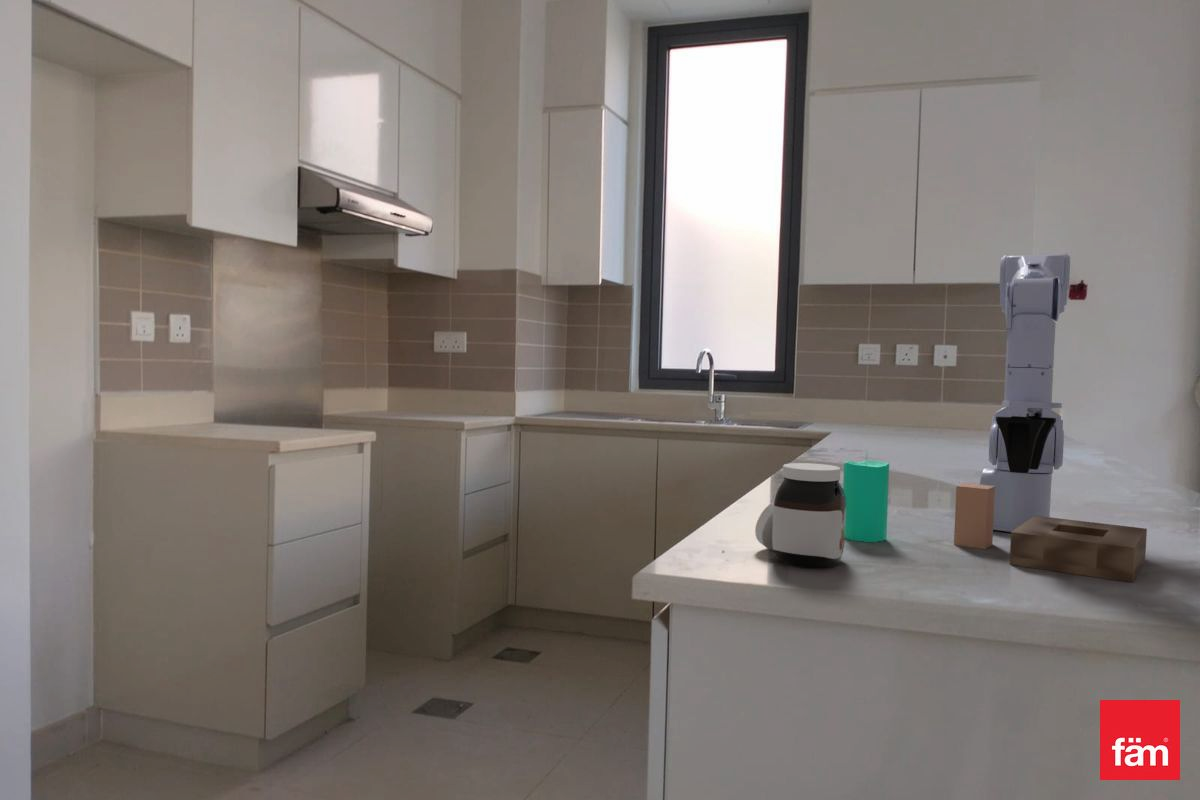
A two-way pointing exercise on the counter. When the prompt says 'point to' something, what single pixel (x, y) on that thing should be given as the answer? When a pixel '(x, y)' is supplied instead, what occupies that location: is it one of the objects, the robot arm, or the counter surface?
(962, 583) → the counter surface
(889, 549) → the counter surface
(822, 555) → the spread jar
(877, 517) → the candle
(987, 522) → the peg
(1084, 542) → the socket block
